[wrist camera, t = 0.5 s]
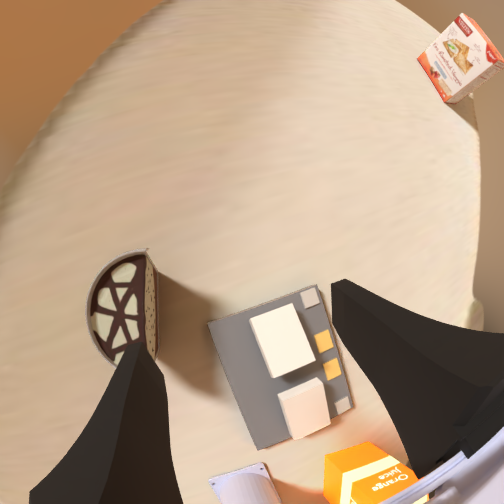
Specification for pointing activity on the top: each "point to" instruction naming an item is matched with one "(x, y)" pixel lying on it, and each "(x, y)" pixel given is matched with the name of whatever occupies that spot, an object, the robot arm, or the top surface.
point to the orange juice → (365, 476)
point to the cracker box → (460, 59)
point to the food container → (124, 306)
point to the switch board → (266, 388)
